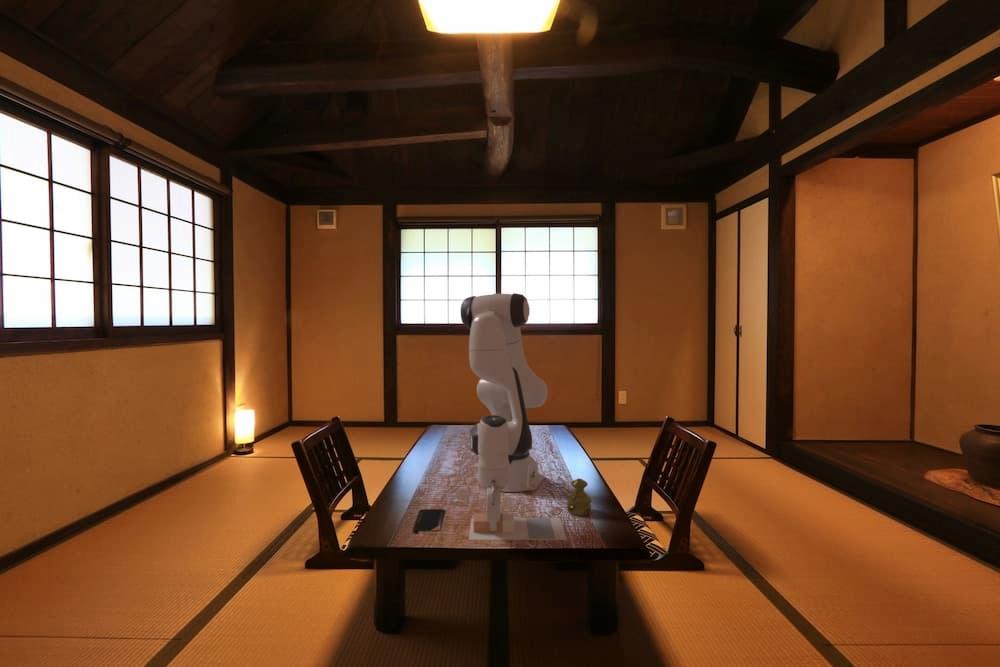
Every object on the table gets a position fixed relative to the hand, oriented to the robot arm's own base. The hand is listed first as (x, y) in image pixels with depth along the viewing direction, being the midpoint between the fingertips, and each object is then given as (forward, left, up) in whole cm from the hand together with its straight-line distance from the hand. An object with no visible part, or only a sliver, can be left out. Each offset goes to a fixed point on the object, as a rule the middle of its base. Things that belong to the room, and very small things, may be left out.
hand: (493, 524), depth 137 cm
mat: (-3, +6, -2) cm, 7 cm away
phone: (+4, -19, -2) cm, 20 cm away
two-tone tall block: (0, 0, -1) cm, 1 cm away
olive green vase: (-25, +16, -2) cm, 29 cm away
